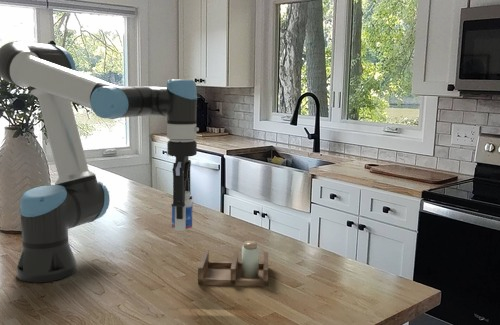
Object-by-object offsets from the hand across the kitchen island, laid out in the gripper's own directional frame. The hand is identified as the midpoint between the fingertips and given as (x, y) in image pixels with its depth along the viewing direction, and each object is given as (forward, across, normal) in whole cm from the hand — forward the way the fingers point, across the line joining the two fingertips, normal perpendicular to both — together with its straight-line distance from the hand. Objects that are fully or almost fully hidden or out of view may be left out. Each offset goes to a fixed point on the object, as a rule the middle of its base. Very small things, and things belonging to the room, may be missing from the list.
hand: (182, 226), depth 129 cm
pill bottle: (+1, 0, 0) cm, 1 cm away
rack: (+15, 0, -14) cm, 20 cm away
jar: (+13, 0, -18) cm, 23 cm away
